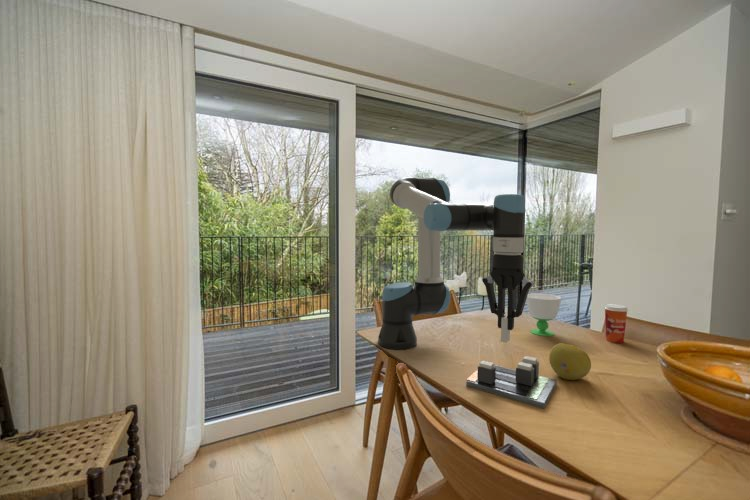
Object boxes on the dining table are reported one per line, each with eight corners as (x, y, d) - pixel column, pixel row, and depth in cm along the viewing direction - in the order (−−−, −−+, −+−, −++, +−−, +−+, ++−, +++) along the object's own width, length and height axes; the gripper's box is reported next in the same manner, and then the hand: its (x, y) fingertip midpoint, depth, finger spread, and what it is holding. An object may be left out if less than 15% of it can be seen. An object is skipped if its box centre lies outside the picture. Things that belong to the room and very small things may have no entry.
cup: (561, 331, 144) (562, 295, 144) (559, 340, 133) (560, 300, 132) (527, 326, 152) (527, 292, 151) (522, 334, 140) (522, 297, 139)
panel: (465, 385, 95) (465, 379, 94) (485, 367, 107) (486, 362, 107) (543, 408, 82) (544, 402, 82) (556, 385, 95) (556, 379, 94)
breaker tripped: (477, 380, 93) (477, 363, 93) (481, 376, 96) (481, 359, 95) (491, 384, 91) (492, 366, 91) (495, 380, 93) (495, 363, 93)
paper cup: (605, 342, 130) (607, 307, 129) (600, 336, 137) (601, 303, 136) (630, 345, 127) (631, 308, 126) (623, 339, 134) (625, 304, 133)
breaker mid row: (515, 382, 92) (515, 364, 92) (518, 378, 95) (519, 361, 94) (531, 386, 90) (531, 367, 89) (533, 382, 92) (534, 364, 92)
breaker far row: (521, 375, 97) (521, 358, 96) (523, 371, 99) (524, 355, 99) (536, 378, 94) (536, 361, 94) (538, 375, 96) (538, 358, 96)
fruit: (590, 388, 92) (592, 353, 92) (547, 379, 98) (548, 346, 98) (590, 375, 101) (591, 342, 100) (550, 367, 107) (551, 336, 106)
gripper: (478, 253, 89) (476, 339, 91) (530, 255, 81) (527, 350, 83) (488, 251, 95) (486, 332, 97) (538, 253, 87) (534, 342, 89)
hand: (505, 340), depth 90 cm, fingers closed
